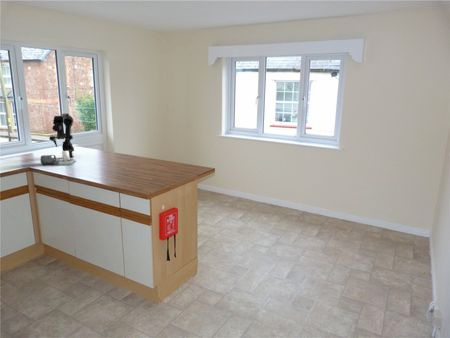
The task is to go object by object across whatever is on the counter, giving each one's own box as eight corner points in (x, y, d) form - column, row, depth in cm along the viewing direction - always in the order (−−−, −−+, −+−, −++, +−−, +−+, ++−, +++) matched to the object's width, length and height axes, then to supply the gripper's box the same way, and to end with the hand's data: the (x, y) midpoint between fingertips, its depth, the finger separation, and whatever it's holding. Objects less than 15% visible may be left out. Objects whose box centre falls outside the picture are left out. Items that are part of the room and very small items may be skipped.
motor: (45, 162, 300) (44, 154, 298) (76, 161, 303) (74, 153, 301) (40, 166, 288) (39, 157, 286) (71, 165, 292) (70, 156, 290)
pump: (65, 161, 300) (64, 150, 298) (72, 161, 299) (70, 150, 296) (61, 163, 294) (59, 152, 292) (67, 163, 293) (66, 152, 290)
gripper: (47, 131, 290) (49, 149, 294) (70, 130, 296) (73, 147, 300) (49, 129, 300) (51, 147, 304) (71, 128, 306) (73, 145, 310)
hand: (62, 146), depth 304 cm, fingers open, 9 cm apart
